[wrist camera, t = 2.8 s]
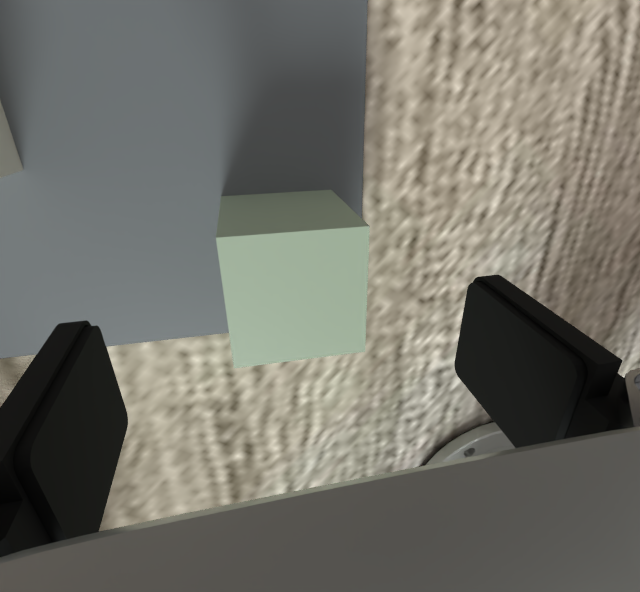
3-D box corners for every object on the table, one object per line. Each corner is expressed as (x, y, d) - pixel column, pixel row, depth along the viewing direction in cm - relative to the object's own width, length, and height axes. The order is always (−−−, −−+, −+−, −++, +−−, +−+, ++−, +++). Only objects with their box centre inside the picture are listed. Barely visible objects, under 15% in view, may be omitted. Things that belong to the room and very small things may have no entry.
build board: (362, -84, 15) (447, -203, 9) (354, 309, 23) (398, 387, 17) (-359, -120, 12) (-989, -350, 6) (-90, 357, 20) (-239, 478, 13)
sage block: (331, 189, 19) (369, 225, 14) (331, 287, 21) (364, 351, 16) (220, 196, 18) (215, 237, 13) (233, 297, 20) (234, 368, 15)
